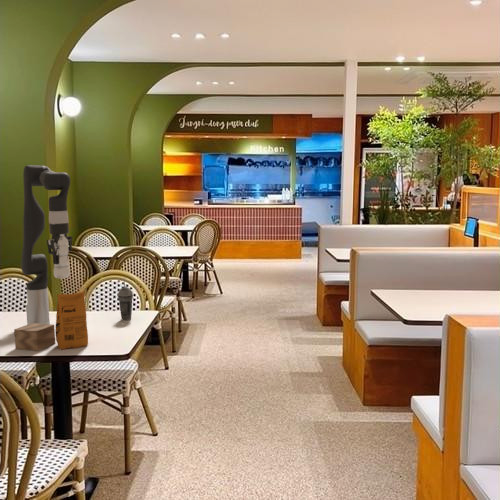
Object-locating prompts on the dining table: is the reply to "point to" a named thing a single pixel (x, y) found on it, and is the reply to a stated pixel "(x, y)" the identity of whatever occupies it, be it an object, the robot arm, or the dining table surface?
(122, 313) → the beverage cup
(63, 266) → the plastic bottle
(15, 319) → the dining table surface
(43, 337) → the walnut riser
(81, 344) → the coffee package
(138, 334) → the dining table surface
